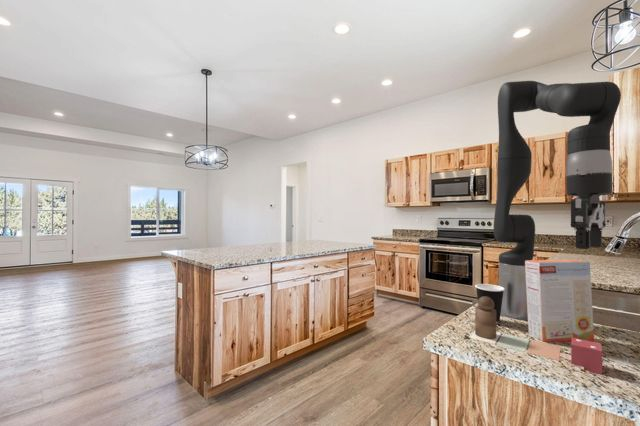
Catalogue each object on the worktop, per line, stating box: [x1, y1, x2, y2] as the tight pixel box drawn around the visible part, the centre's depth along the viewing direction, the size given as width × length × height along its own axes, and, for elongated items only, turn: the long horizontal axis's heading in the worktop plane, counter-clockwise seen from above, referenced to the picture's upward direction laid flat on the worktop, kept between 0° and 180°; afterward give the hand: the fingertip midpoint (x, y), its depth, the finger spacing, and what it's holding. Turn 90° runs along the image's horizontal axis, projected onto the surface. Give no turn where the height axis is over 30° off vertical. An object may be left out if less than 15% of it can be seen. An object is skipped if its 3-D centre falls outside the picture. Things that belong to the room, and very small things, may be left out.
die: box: [570, 337, 603, 375], centre depth 67 cm, size 5×5×5 cm
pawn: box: [474, 296, 497, 339], centre depth 81 cm, size 5×5×10 cm
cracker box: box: [525, 259, 595, 343], centre depth 81 cm, size 14×6×21 cm, turn 92°
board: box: [468, 330, 562, 361], centre depth 77 cm, size 11×20×1 cm, turn 50°
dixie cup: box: [475, 283, 505, 324], centre depth 92 cm, size 8×8×11 cm
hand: (589, 247), depth 65 cm, fingers open, 8 cm apart
